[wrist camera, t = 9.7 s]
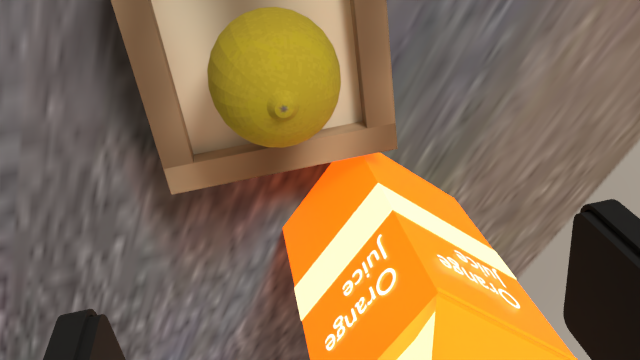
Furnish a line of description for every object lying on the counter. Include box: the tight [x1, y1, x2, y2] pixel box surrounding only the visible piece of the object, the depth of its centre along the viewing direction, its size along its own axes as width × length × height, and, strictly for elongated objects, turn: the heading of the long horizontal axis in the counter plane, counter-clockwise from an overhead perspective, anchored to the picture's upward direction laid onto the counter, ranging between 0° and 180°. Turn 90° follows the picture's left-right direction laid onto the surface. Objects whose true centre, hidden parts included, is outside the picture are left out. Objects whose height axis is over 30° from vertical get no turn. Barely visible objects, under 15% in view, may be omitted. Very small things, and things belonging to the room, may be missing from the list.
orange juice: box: [283, 153, 577, 360], centre depth 28 cm, size 8×9×20 cm
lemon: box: [207, 7, 341, 148], centre depth 24 cm, size 6×6×8 cm
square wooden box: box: [111, 0, 397, 195], centre depth 28 cm, size 12×12×4 cm
